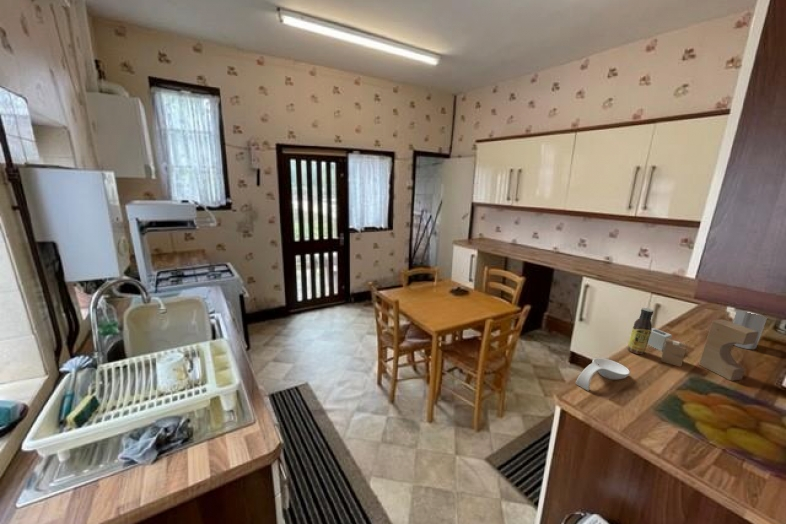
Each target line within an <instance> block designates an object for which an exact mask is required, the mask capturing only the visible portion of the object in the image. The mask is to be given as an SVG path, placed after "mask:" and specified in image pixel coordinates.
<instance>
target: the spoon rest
mask: <svg viewBox="0 0 786 524" xmlns="http://www.w3.org/2000/svg"><path fill="white" fill-rule="evenodd" d="M598 364H599V365H598ZM596 373H599V375H600V376H602V377H603V378H605V379H609V380H614V381H615V380H622V379H626V378H627V377H628V376H630V374H631V371H630V370H629V369H628V367H626V366H625V365H623V364H621V363H618V362H617V361H615V360H611V359H608V358H602V357H601V358H600V357H595V358H594V359H593V358H592V362H591V363H590V364H588V365H587V366H586V367H585V368H584V369H583V370H582V372H580V374H579V375H578V377H577V379H576V381H575V384H576V385H577V386H579V388H582V389H583V390H585V391H587V392H588V391H590V387H591V386H590V385H591V380H592V378H593V376H594V375H595V374H596Z"/></svg>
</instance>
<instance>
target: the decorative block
mask: <svg viewBox="0 0 786 524" xmlns="http://www.w3.org/2000/svg"><path fill="white" fill-rule="evenodd" d="M757 335H758V332H757V331H754V330H752V329H749V328H746V327H743V326H740V325H738V324H735V323H733V321H729V320H726V319H725V318H724V319H723V318H721V319H715V320H711V324H710V328H709V331H708V334H707V337H706V341H705V343H704V346H703V349H702V353H701V356H700V359H699V362H698V364H699V366H700V367H702V368H704V369H706V370H708V371H711V372H713V373H714V374H716V375H719V376H720V377H722V378H724V379H726V380H728V381H731V382H733V381H738V380H742V379H743V377H744V374H745V372H746V369H745V367H743V366H741V365H740V364H739V363H737V361H736V360H735V359H734V357H733V355H732V348H733V346H735V345H734V344H737V343H738V344H742V345H747V344H754V343H755V341H756V338H757Z"/></svg>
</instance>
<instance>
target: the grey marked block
mask: <svg viewBox="0 0 786 524" xmlns="http://www.w3.org/2000/svg"><path fill="white" fill-rule="evenodd" d="M666 339H671V340H672V334H670V333H669V332H665V331H663V330H660V329H658V328H655V327H652V331H651V334H650V337H649V340H648V345H650V346H649V347H651V346H652V347H651V348H653V347H654V348H653V349H655V348H656V349H655V350H657V349H658V351H660V352H663V349H664V346H665V342H666ZM648 345H647V346H648Z"/></svg>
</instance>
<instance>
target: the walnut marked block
mask: <svg viewBox="0 0 786 524" xmlns="http://www.w3.org/2000/svg"><path fill="white" fill-rule="evenodd" d="M686 350H687V345H686V342H682V341H678V340H673V339H672V338H671V339H666V342H665V346H664V349H663V351H662V354H661V362H664V363H666V364H670V365H674V366H678V367H679V368H680V367H682V364H683V361H684V357H685V354H686Z"/></svg>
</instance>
